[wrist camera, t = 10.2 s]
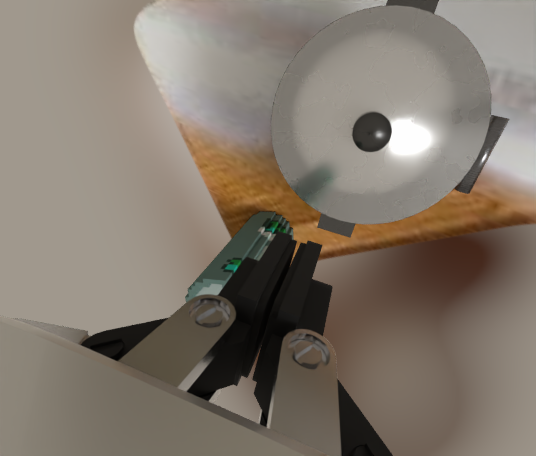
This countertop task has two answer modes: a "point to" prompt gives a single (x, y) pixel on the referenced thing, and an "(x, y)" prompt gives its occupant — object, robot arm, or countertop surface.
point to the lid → (383, 115)
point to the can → (239, 252)
